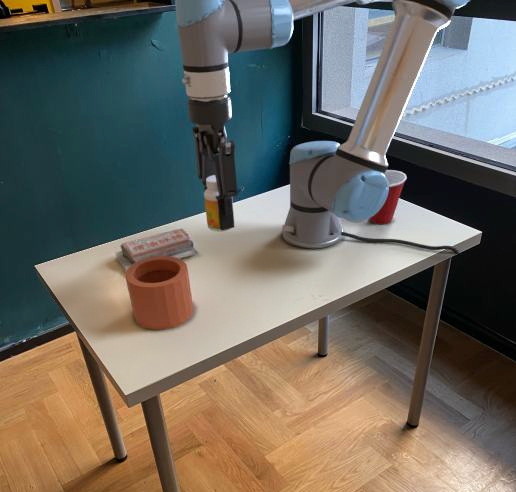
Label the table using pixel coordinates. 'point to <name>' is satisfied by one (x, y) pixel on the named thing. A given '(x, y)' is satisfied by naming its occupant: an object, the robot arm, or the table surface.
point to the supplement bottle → (212, 204)
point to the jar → (160, 292)
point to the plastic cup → (390, 197)
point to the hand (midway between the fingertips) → (220, 222)
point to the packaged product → (157, 247)
